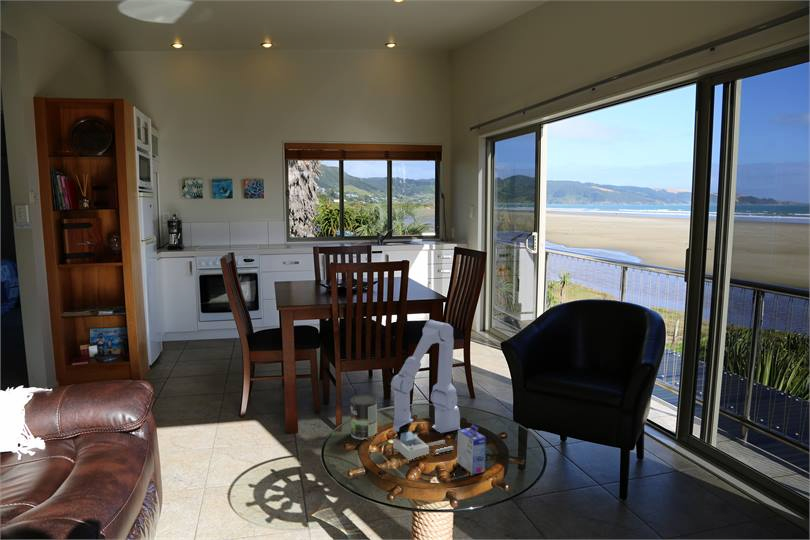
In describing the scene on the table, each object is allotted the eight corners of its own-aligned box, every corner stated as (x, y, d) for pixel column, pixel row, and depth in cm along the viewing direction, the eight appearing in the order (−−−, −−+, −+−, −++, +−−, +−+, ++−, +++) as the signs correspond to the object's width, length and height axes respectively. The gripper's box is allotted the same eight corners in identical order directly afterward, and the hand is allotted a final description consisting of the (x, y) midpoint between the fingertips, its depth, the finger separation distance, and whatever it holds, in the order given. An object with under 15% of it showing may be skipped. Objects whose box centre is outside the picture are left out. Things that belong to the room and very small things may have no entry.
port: (416, 444, 214) (416, 432, 213) (431, 456, 203) (431, 444, 203) (392, 449, 209) (392, 438, 209) (406, 462, 199) (406, 450, 199)
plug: (408, 441, 213) (411, 431, 211) (414, 450, 209) (417, 440, 207) (399, 443, 211) (401, 433, 209) (405, 453, 207) (407, 442, 205)
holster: (443, 444, 213) (443, 439, 212) (453, 452, 207) (453, 446, 206) (427, 448, 210) (426, 443, 209) (436, 456, 203) (436, 450, 203)
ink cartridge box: (486, 471, 192) (486, 430, 190) (472, 475, 190) (472, 434, 188) (469, 459, 201) (470, 420, 199) (456, 463, 198) (456, 423, 196)
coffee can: (355, 441, 216) (354, 405, 214) (347, 431, 226) (347, 396, 224) (381, 437, 220) (380, 401, 218) (372, 427, 230) (372, 393, 228)
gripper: (406, 415, 203) (406, 452, 205) (418, 401, 217) (418, 435, 218) (387, 413, 205) (387, 449, 207) (400, 399, 219) (401, 433, 221)
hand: (402, 442), depth 213 cm, fingers closed
